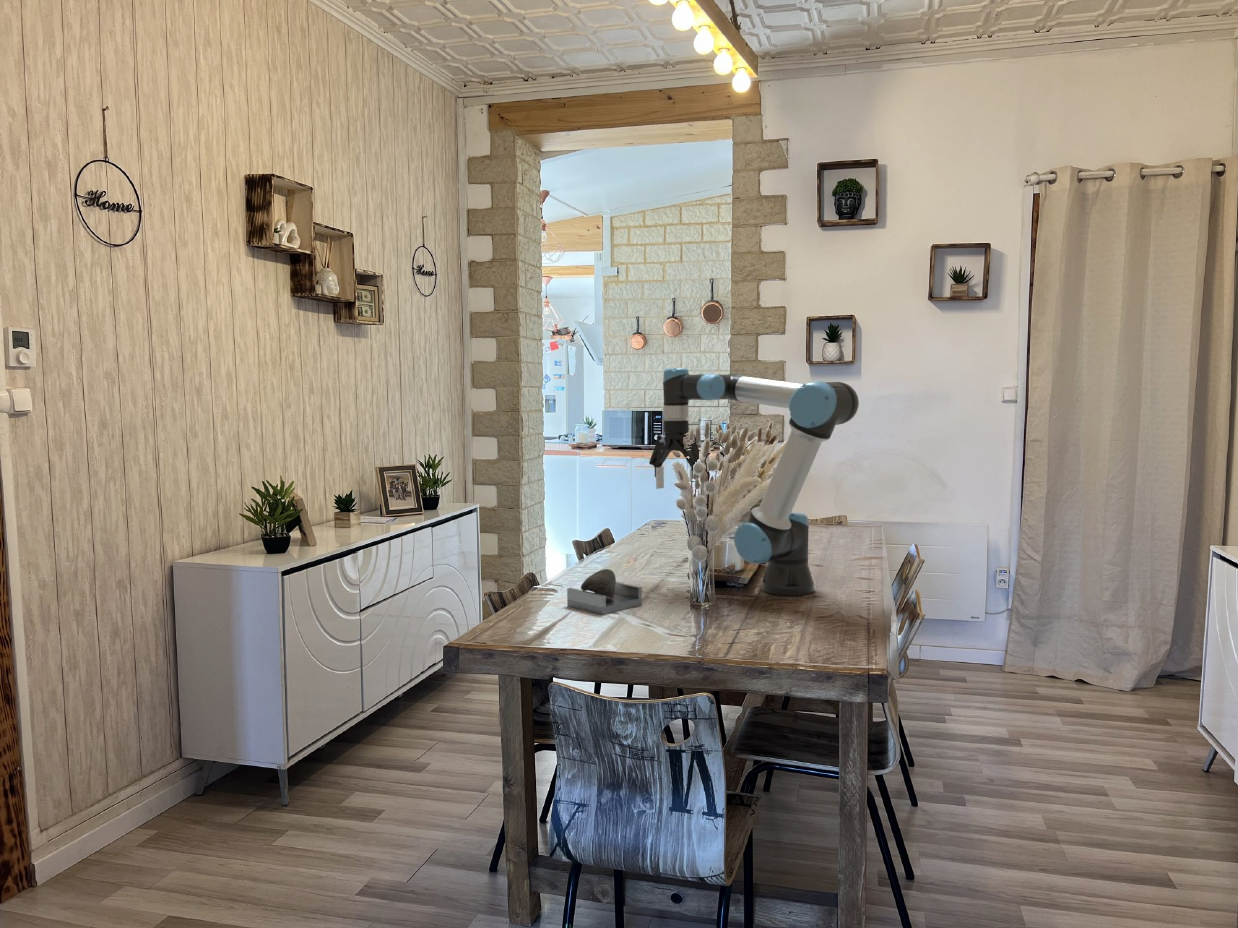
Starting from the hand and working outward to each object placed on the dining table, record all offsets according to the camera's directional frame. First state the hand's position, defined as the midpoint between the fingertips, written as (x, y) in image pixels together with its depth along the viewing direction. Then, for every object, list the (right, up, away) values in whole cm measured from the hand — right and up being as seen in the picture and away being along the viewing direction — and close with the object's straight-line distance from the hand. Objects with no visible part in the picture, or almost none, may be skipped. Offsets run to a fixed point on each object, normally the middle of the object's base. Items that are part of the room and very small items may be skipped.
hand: (676, 490), depth 272 cm
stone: (-23, -28, -25) cm, 44 cm away
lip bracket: (-21, -31, -25) cm, 45 cm away
